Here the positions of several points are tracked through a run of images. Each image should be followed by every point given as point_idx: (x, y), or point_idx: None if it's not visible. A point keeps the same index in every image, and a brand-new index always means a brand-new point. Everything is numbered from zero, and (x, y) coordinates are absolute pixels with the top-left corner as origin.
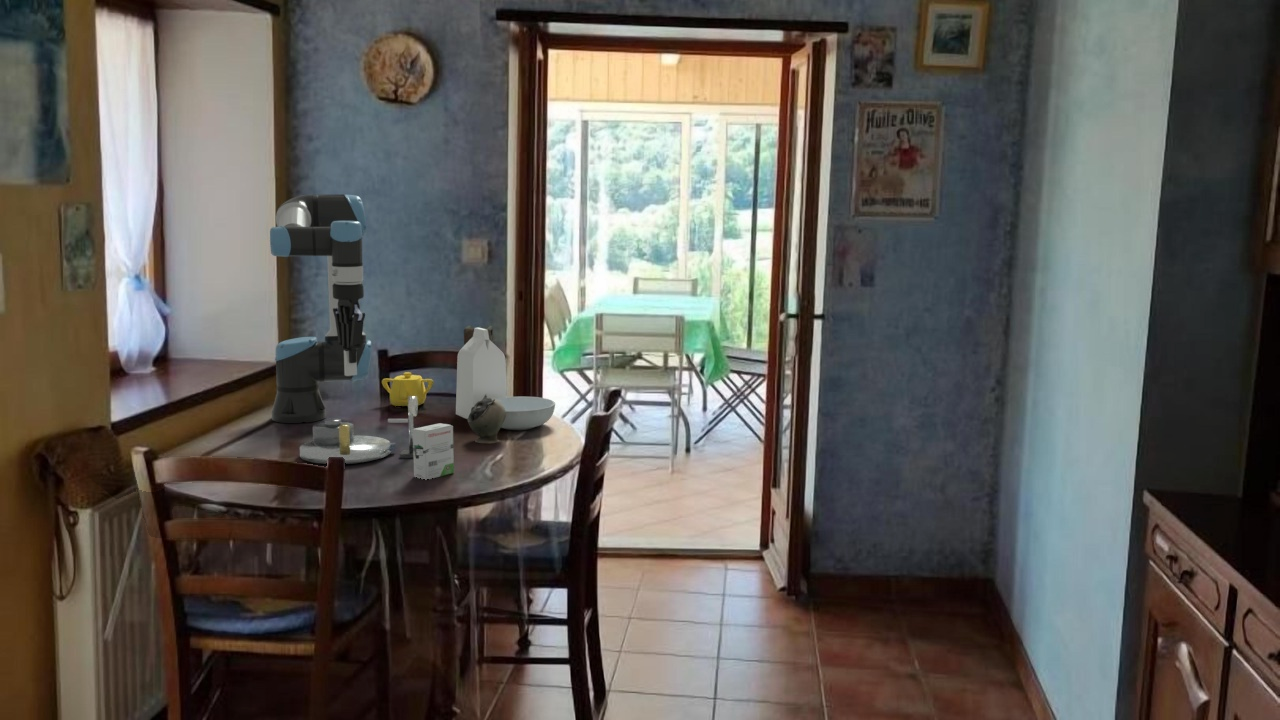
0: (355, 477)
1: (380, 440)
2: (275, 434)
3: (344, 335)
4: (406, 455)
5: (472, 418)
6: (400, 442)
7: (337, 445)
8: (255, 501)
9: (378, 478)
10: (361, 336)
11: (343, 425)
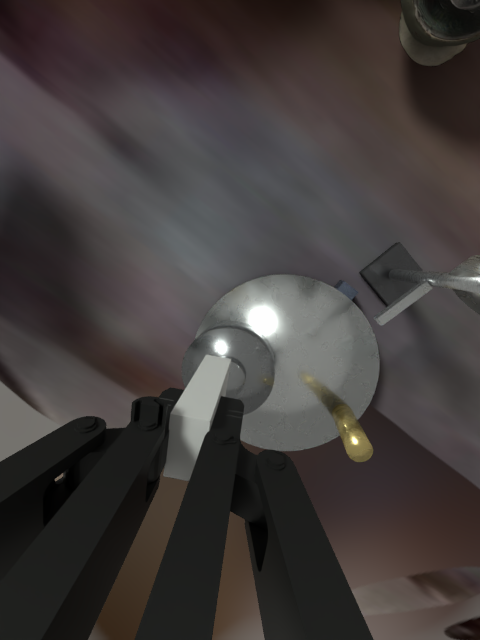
0: (426, 446)
1: (304, 292)
2: (32, 339)
3: (116, 576)
4: (400, 296)
5: (428, 3)
6: (272, 209)
7: None
8: (405, 603)
9: (469, 427)
10: (333, 560)
11: (358, 451)
